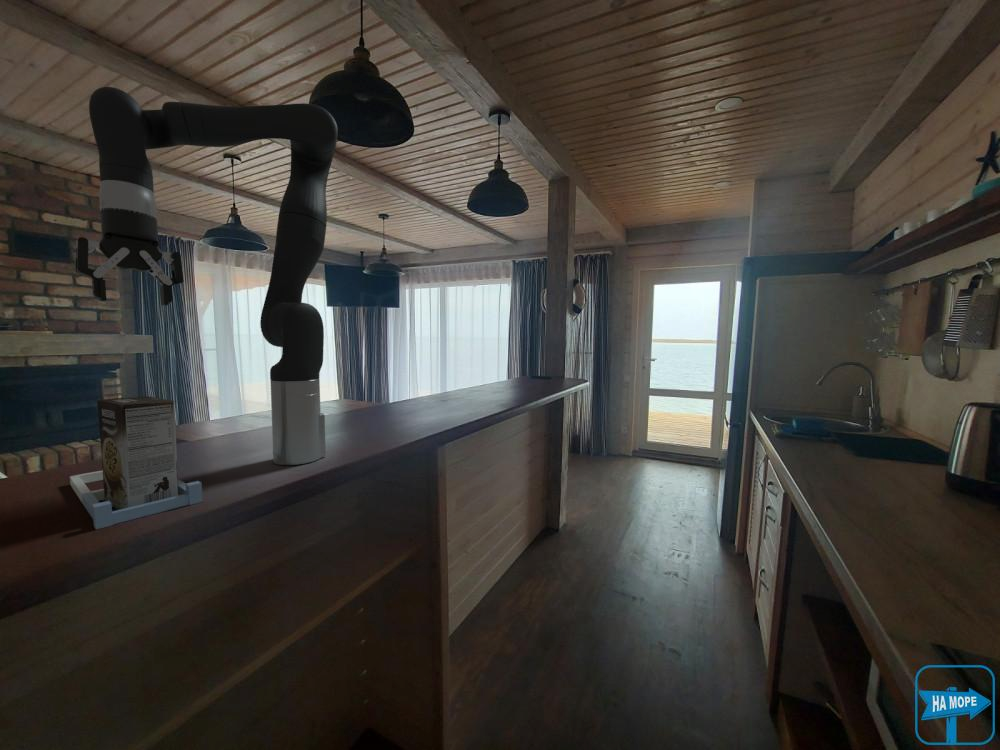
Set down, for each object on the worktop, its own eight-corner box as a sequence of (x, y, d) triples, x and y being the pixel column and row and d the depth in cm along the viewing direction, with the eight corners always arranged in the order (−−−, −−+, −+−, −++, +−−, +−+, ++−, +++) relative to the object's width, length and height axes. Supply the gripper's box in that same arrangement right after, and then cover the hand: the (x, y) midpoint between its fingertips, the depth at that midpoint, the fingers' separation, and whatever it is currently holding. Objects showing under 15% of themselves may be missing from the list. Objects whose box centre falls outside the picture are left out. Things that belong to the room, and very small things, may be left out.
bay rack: (154, 468, 77) (154, 453, 76) (202, 501, 60) (201, 482, 60) (67, 485, 67) (66, 468, 67) (95, 529, 51) (94, 507, 51)
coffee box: (102, 503, 60) (94, 399, 58) (155, 490, 65) (149, 395, 64) (126, 516, 55) (119, 404, 54) (181, 500, 61) (175, 398, 60)
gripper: (173, 227, 78) (177, 307, 80) (68, 206, 67) (75, 300, 68) (184, 220, 74) (189, 305, 75) (74, 196, 63) (82, 297, 64)
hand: (135, 303), depth 72 cm, fingers open, 8 cm apart
